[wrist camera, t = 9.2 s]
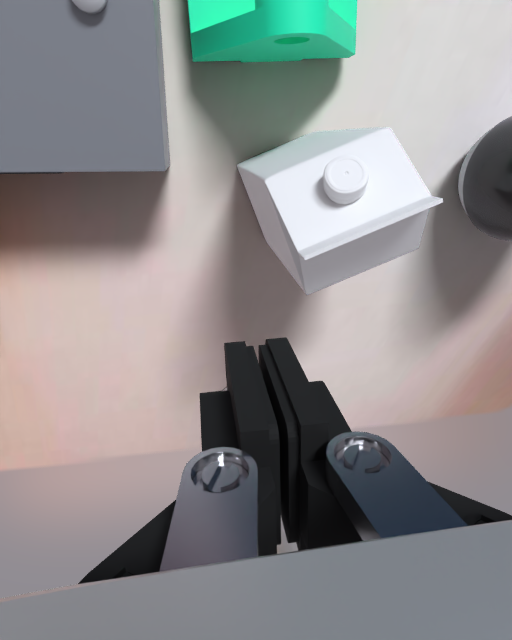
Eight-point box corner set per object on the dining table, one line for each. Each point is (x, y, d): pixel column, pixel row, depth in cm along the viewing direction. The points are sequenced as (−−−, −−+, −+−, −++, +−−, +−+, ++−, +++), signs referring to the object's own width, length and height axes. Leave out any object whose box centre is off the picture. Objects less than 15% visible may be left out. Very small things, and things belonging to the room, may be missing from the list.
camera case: (170, 166, 36) (165, 174, 28) (-64, 168, 34) (-142, 176, 26) (158, -13, 32) (147, -65, 24) (-114, -25, 29) (-227, -87, 21)
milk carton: (339, 211, 40) (457, 267, 22) (265, 242, 40) (325, 321, 22) (314, 130, 37) (427, 122, 19) (235, 164, 37) (277, 186, 19)
